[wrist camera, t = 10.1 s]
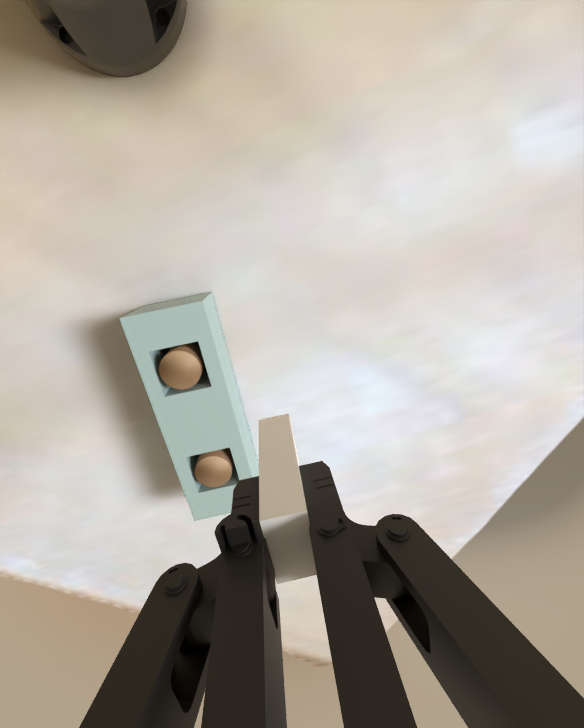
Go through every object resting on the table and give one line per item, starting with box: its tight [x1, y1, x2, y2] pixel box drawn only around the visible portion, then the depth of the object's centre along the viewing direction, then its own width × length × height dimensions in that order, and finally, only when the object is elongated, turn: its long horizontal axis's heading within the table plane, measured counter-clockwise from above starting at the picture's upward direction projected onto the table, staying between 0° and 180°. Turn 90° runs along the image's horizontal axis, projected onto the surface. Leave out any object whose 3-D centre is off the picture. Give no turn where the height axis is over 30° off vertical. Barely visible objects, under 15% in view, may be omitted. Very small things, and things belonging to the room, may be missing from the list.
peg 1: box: [159, 341, 205, 389], centre depth 42 cm, size 5×5×8 cm
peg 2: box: [195, 448, 233, 487], centre depth 47 cm, size 5×5×8 cm
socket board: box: [119, 292, 259, 521], centre depth 45 cm, size 28×9×8 cm, turn 11°
